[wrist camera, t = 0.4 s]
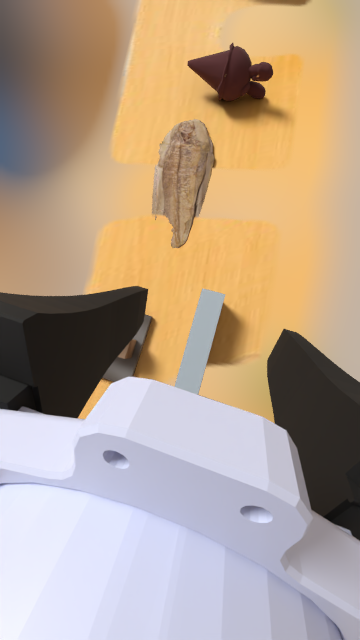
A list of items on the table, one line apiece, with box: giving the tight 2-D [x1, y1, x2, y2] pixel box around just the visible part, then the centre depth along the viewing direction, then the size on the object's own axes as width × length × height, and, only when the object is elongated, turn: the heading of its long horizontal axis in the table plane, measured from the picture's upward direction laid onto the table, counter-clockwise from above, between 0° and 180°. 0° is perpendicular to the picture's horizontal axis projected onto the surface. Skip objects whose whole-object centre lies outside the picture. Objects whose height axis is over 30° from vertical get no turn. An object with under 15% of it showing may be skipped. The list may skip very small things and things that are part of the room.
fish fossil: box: [152, 119, 214, 248], centre depth 41 cm, size 26×10×1 cm, turn 176°
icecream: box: [188, 43, 273, 101], centre depth 39 cm, size 7×7×15 cm
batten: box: [175, 289, 225, 395], centre depth 34 cm, size 24×4×5 cm, turn 164°
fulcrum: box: [102, 315, 152, 382], centre depth 36 cm, size 12×12×4 cm
